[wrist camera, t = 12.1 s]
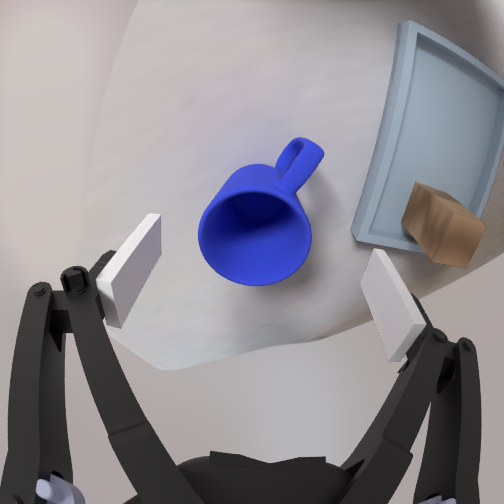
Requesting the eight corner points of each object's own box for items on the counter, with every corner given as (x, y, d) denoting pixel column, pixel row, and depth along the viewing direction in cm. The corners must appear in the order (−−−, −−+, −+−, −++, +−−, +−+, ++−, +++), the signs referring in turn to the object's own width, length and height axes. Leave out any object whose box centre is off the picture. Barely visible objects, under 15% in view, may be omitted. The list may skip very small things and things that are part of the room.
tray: (398, 23, 17) (409, 19, 15) (501, 86, 18) (514, 88, 16) (350, 229, 30) (356, 240, 28) (451, 251, 31) (460, 261, 28)
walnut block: (415, 181, 26) (454, 212, 19) (447, 192, 26) (486, 225, 19) (400, 221, 28) (432, 261, 21) (432, 230, 28) (465, 268, 22)
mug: (336, 152, 26) (369, 184, 17) (270, 241, 31) (270, 301, 23) (265, 106, 24) (264, 112, 15) (205, 204, 29) (180, 256, 21)
